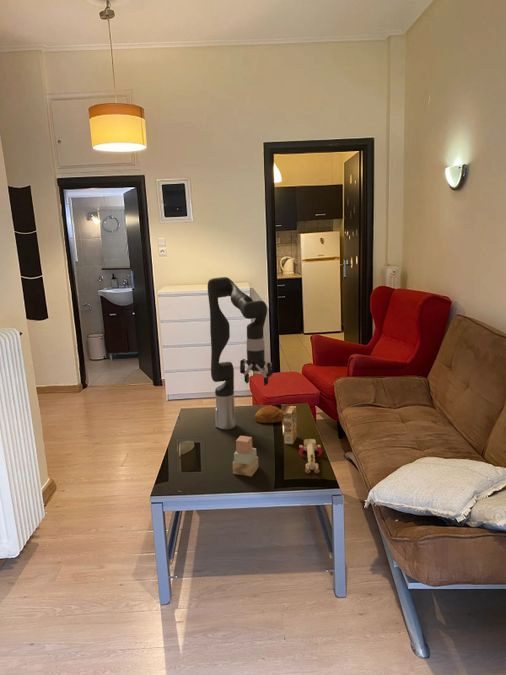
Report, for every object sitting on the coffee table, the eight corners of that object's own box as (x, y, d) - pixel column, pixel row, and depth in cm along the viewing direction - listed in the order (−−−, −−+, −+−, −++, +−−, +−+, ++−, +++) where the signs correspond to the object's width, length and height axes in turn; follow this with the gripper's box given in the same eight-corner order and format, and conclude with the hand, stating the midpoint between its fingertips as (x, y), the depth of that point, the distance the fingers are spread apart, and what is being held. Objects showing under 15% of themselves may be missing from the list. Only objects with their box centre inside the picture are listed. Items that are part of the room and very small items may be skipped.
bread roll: (284, 428, 249) (286, 413, 247) (253, 424, 249) (255, 410, 247) (283, 416, 263) (285, 402, 261) (254, 413, 263) (256, 399, 261)
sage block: (234, 462, 199) (233, 453, 198) (241, 454, 205) (240, 446, 205) (250, 464, 197) (249, 455, 196) (256, 457, 203) (256, 448, 202)
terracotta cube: (236, 451, 199) (235, 440, 198) (241, 446, 204) (240, 435, 203) (247, 453, 198) (247, 442, 196) (252, 448, 202) (251, 437, 201)
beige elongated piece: (324, 476, 198) (320, 444, 222) (324, 457, 195) (320, 427, 219) (299, 476, 199) (298, 444, 222) (299, 457, 196) (298, 427, 220)
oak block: (233, 473, 200) (232, 462, 199) (240, 465, 207) (240, 454, 206) (251, 476, 197) (250, 465, 196) (258, 467, 204) (258, 456, 203)
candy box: (293, 444, 224) (292, 413, 221) (283, 443, 225) (283, 412, 222) (297, 436, 232) (296, 406, 229) (288, 435, 234) (287, 405, 230)
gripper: (236, 348, 208) (237, 384, 212) (267, 351, 202) (268, 388, 206) (243, 344, 215) (245, 379, 219) (274, 346, 209) (275, 382, 213)
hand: (256, 383), depth 212 cm, fingers open, 8 cm apart
